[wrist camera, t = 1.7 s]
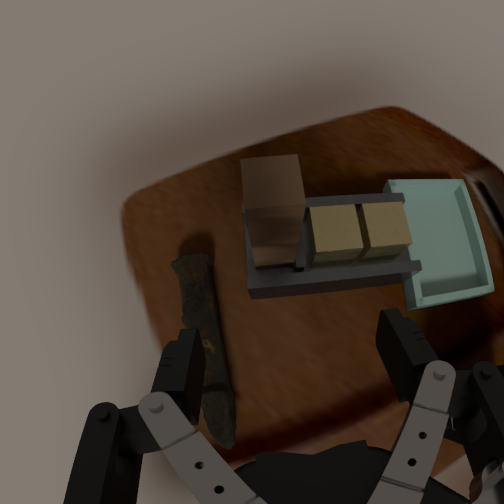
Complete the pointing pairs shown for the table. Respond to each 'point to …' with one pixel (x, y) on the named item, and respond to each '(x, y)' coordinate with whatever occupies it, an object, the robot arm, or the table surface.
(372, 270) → the slot rail
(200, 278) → the hand tool
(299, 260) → the tan wooden block
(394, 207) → the tan cube
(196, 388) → the robot arm
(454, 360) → the table surface
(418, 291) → the tray
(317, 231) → the pale yellow cube
